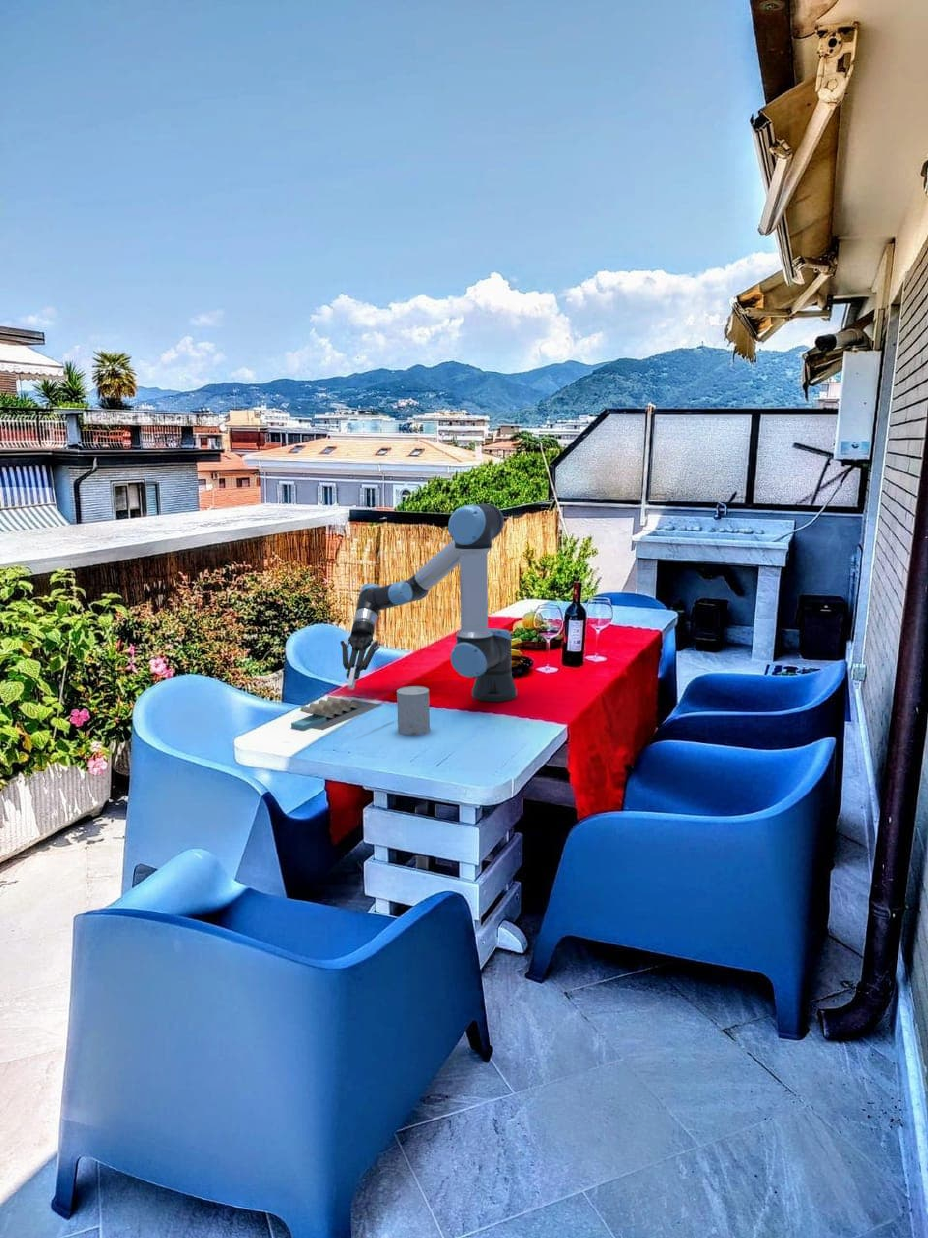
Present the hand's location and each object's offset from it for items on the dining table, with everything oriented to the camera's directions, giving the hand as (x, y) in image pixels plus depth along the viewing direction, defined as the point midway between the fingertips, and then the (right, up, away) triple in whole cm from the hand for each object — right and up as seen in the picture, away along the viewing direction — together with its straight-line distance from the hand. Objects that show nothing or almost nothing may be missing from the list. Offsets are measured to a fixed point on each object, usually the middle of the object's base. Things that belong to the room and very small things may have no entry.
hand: (350, 687), depth 270 cm
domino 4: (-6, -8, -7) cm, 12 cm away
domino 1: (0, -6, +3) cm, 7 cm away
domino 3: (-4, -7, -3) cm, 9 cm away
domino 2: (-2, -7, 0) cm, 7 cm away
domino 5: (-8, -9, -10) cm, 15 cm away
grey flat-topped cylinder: (+21, -12, -18) cm, 30 cm away
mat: (-3, -9, -4) cm, 10 cm away
